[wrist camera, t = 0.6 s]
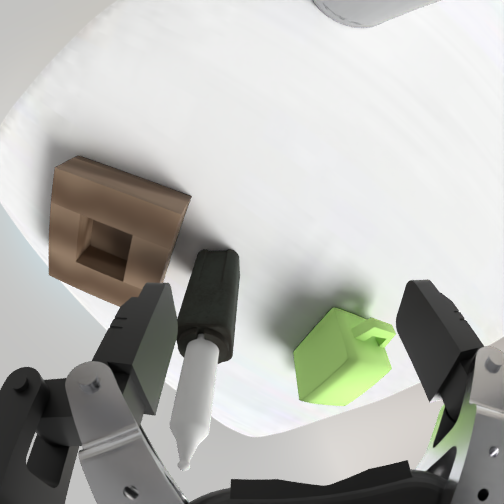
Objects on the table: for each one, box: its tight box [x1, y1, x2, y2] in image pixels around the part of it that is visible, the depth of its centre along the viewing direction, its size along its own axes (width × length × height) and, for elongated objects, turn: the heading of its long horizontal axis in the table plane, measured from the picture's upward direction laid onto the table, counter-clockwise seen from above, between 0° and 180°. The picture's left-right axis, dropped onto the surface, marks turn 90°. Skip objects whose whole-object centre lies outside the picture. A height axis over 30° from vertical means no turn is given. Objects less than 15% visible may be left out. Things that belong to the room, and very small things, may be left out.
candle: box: [170, 249, 240, 471], centre depth 27 cm, size 5×5×25 cm
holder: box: [49, 156, 192, 307], centre depth 33 cm, size 15×15×5 cm
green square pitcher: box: [293, 308, 396, 406], centre depth 40 cm, size 18×10×10 cm, turn 154°
